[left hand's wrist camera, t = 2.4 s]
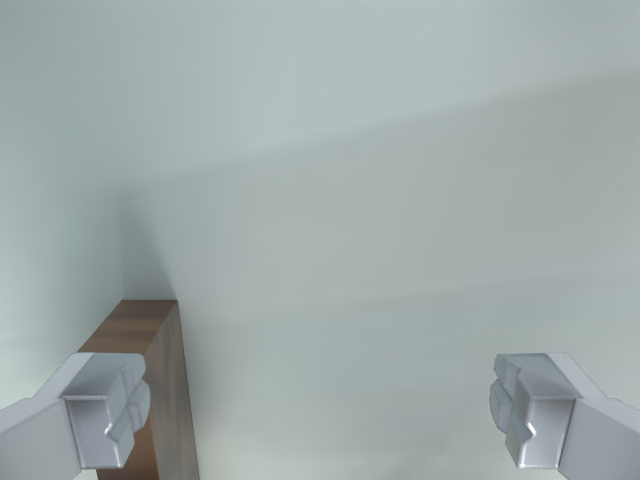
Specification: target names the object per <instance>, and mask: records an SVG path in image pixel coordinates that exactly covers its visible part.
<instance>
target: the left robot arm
mask: <svg viewBox="0 0 640 480" xmlns="http://www.w3.org/2000/svg"><path fill="white" fill-rule="evenodd" d="M145 371H146V365H145V360H144V357H143V356H142V355H141V354H139V353H74V354H71V355H70V356H69V357H68V358H67V359H66V360H65V361H64V363H63V364H62V365H61V366H60V367H59V368H58V369H57V370H56V372H55V373H54V374H53V375H52V376H51V377H50V378H49V379H48V380H47V382H46V383H45V384H44V385H43V386H42V387H41V388H40V389H39V391H38V392H37V393H36V394H35V395H34V396H33V397H32V398H24V399H22V400H20V401H18V402H16V403H14V404H12V405H10V406H8V407H6V408H4V409H2V410H0V480H72V479H73V478H75V477H76V476H77V475H78V474H79V473H81V469H114V468H123V466H124V464H125V462H126V460H127V458H128V456H129V454H130V452H131V450H132V448H133V446H134V444H135V441H134V436H133V435H134V434H135V433H136V432H138V431H139V430H141V429H142V428H143V426H144V424H145V422H146V420H147V417H148V413H149V408H150V389H149V385H148V384H147V383H146V382H145V381H144V380H143V379H142V376H143V374H144V373H145ZM494 371H495V373H496V374H497V376H498V379H497V380H496V381H495V382H494V383H493V384H492V385H491V389H490V409H491V413H492V417H493V420H494V422H495V424H496V426H497V428H498V429H499V430H501V431H502V432H504V433H505V434H506V435H507V436H506V441H505V444H506V446H507V448H508V450H509V452H510V454H511V456H512V458H513V460H514V462H515V464H516V466H517V468H525V469H559V471H558V472H560V473H561V474H562V475H563V476H564V477H566V478H567V479H568V480H640V410H638V409H636V408H634V407H632V406H630V405H628V404H626V403H624V402H622V401H620V400H618V399H616V398H608V397H607V396H606V395H605V394H604V393H603V392H602V391H601V389H600V388H599V387H598V386H597V385H596V384H595V383H594V382H593V380H592V379H591V378H590V377H589V376H588V375H587V374H586V373H585V372H584V370H583V369H582V368H581V367H580V366H579V365H578V364H577V363H576V361H575V360H574V359H573V358H572V357H571V356H570V355H569V354H567V353H565V352H557V353H538V354H498V355H497V357H496V359H495V364H494Z"/></svg>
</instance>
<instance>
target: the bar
mask: <svg viewBox="0 0 640 480" xmlns="http://www.w3.org/2000/svg"><path fill="white" fill-rule="evenodd" d="M77 353H139V354H141V355H142V356H143V357H144V360H145V365H146V371H145V373H144V374H143V376H142V379H143V380H144V381H145V382H146V383H147V384H148V385H149V389H150V408H149V413H148V417H147V420H146V422H145V424H144V426H143V428H142V429H141V430H139V431H138V432H136V433H135V434H134V435H133V436H134V441H135V444H134V446H133V448H132V450H131V452H130V454H129V456H128V458H127V460H126V462H125V464H124V466H123V468H114V469H96V472H97V476H98V480H199V472H198V464H197V456H196V448H195V439H194V431H193V423H192V415H191V407H190V399H189V391H188V383H187V375H186V367H185V359H184V351H183V343H182V335H181V327H180V319H179V311H178V302H177V300H122V301H121V302H120V303H119V304H118V306H117V307H116V308H115V309H114V310H113V311H112V312H111V314H110V315H109V316H108V317H107V318H106V319H105V320H104V322H103V323H102V324H101V325H100V326H99V327H98V329H97V330H96V331H95V332H94V333H93V334H92V335H91V337H90V338H89V339H88V340H87V341H86V342H85V344H84V345H83V346H82V347H81V348H80V349H79V350H78V352H77Z"/></svg>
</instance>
